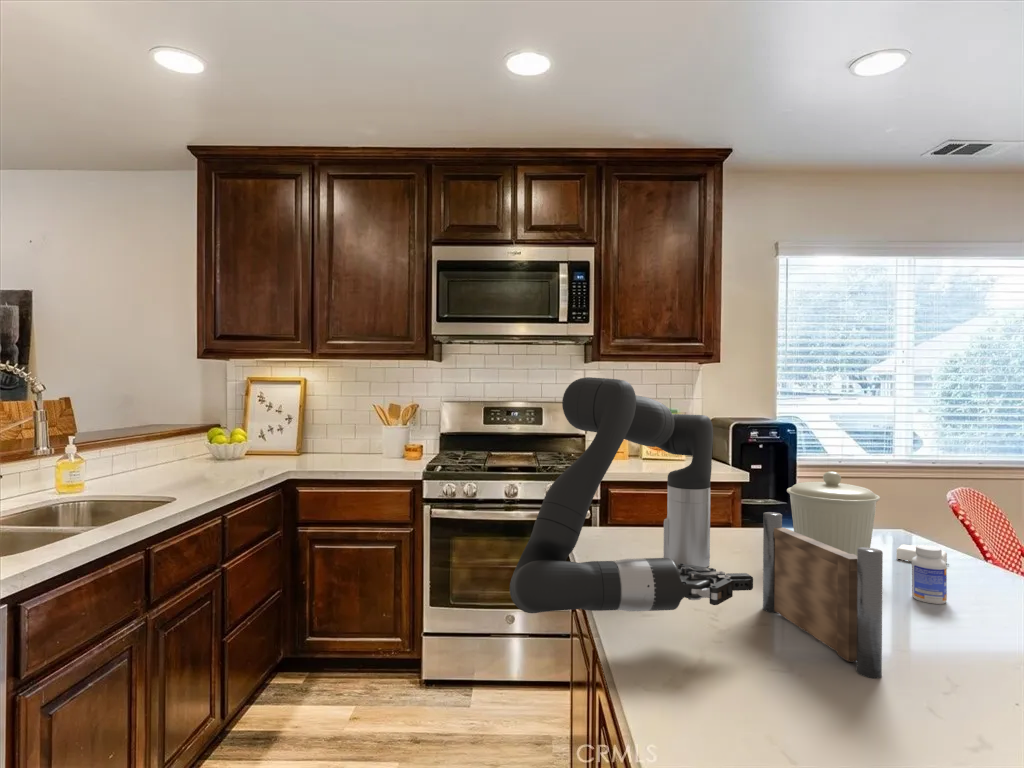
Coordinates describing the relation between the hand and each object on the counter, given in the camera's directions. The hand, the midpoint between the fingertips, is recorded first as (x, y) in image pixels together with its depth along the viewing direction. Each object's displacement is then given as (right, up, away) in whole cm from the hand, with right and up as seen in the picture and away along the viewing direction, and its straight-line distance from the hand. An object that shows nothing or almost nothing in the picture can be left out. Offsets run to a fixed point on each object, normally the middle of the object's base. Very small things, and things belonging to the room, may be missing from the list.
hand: (750, 581), depth 92 cm
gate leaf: (+11, -9, +2) cm, 14 cm away
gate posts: (+11, -10, +2) cm, 15 cm away
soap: (+57, -11, +45) cm, 73 cm away
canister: (+34, -10, +39) cm, 53 cm away
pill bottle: (+41, -10, +20) cm, 47 cm away
